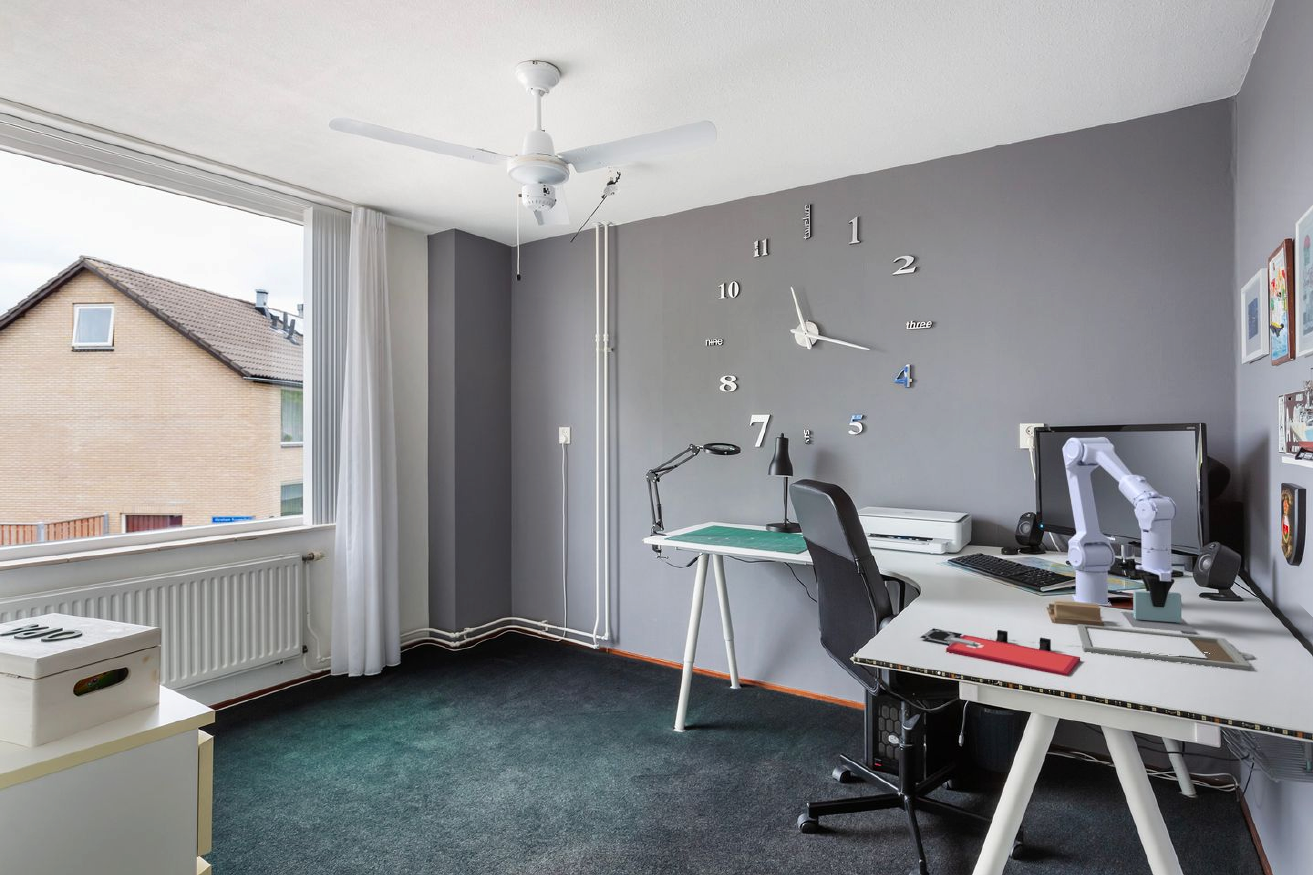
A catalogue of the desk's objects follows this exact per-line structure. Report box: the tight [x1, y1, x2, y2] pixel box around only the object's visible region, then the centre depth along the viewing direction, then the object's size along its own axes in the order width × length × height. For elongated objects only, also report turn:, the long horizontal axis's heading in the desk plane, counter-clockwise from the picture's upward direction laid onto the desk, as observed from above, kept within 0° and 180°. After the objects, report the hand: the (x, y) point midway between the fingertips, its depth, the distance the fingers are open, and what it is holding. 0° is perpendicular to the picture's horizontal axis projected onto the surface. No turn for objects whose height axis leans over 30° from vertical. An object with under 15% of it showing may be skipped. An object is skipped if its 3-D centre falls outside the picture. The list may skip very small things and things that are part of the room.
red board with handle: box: [919, 627, 1081, 677], centre depth 146 cm, size 30×3×15 cm
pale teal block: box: [1132, 589, 1182, 622], centre depth 163 cm, size 2×9×6 cm, turn 68°
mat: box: [1121, 611, 1198, 635], centre depth 163 cm, size 14×12×1 cm
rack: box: [1046, 603, 1107, 627], centre depth 168 cm, size 16×11×2 cm
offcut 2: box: [1055, 603, 1101, 621], centre depth 164 cm, size 2×9×4 cm, turn 65°
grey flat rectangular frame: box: [1076, 624, 1256, 672], centre depth 146 cm, size 19×2×30 cm
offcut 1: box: [1053, 599, 1100, 616], centre depth 166 cm, size 2×9×4 cm, turn 65°
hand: (1156, 605), depth 163 cm, fingers closed on pale teal block, 2 cm apart
